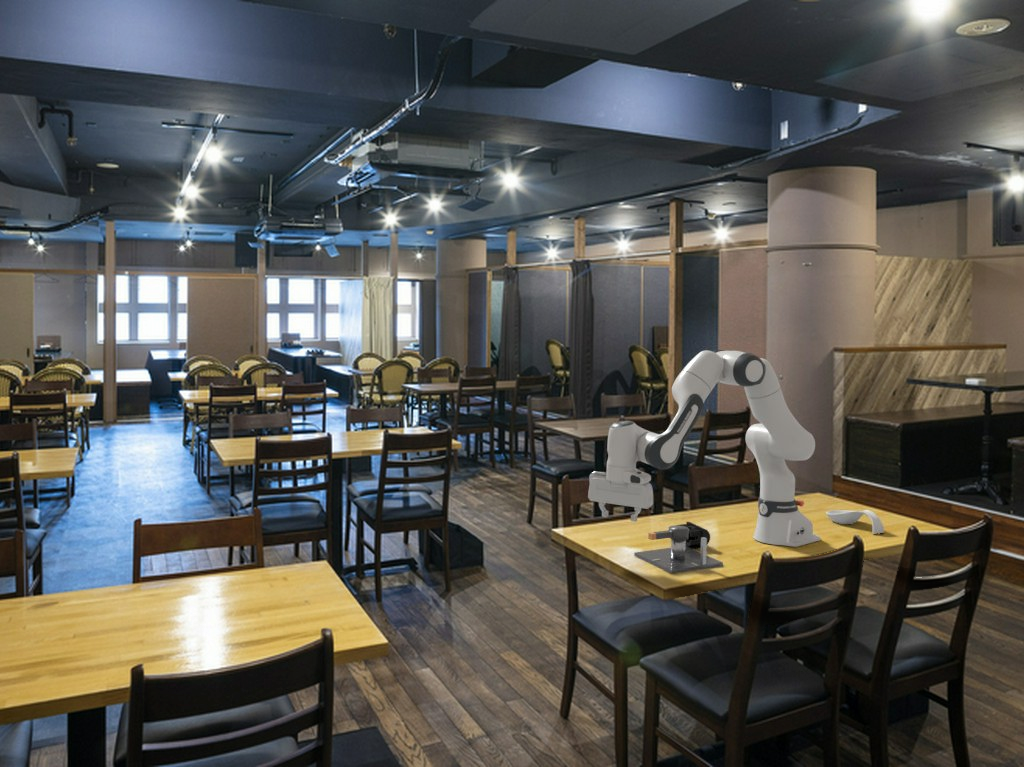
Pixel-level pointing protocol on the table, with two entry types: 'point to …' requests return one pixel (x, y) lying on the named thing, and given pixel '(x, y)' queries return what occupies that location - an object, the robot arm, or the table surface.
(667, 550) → the mount base
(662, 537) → the collar
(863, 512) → the spoon rest
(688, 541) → the end cap
